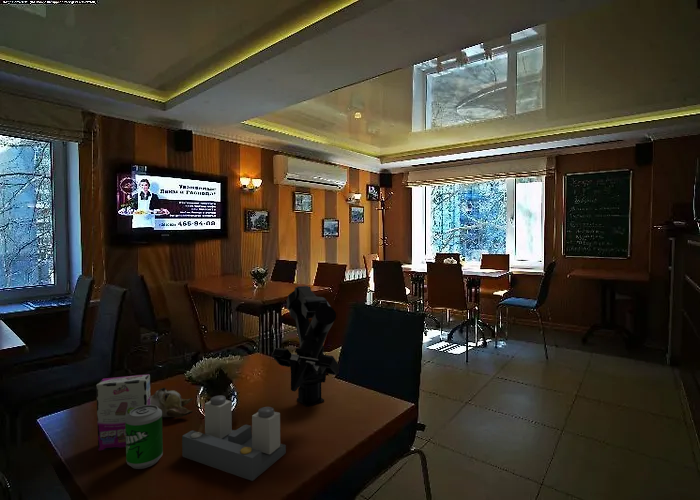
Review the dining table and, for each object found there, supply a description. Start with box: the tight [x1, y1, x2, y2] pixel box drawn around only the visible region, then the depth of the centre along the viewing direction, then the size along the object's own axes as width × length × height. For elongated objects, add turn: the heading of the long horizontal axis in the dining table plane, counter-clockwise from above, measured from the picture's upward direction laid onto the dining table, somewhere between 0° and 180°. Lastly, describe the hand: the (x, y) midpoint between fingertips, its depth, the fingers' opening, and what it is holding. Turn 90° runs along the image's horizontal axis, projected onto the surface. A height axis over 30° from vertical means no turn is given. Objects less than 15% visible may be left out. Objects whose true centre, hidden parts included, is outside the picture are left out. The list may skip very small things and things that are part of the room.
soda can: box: [125, 405, 164, 470], centre depth 91 cm, size 8×8×12 cm
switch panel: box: [181, 424, 287, 482], centre depth 93 cm, size 12×21×5 cm, turn 64°
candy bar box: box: [95, 373, 152, 452], centre depth 99 cm, size 11×5×16 cm, turn 105°
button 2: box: [251, 406, 281, 455], centre depth 92 cm, size 4×5×9 cm
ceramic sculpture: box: [151, 387, 194, 419], centre depth 114 cm, size 11×9×15 cm
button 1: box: [204, 395, 233, 439], centre depth 99 cm, size 4×5×9 cm
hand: (292, 390), depth 101 cm, fingers closed
